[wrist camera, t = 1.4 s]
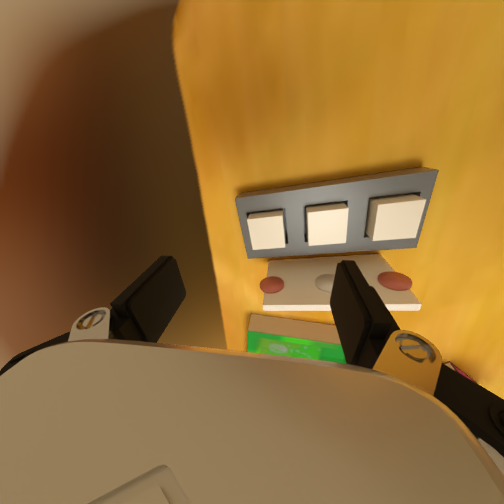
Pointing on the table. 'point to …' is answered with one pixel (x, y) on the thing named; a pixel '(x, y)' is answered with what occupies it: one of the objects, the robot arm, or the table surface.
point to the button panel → (323, 268)
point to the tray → (294, 338)
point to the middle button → (326, 223)
